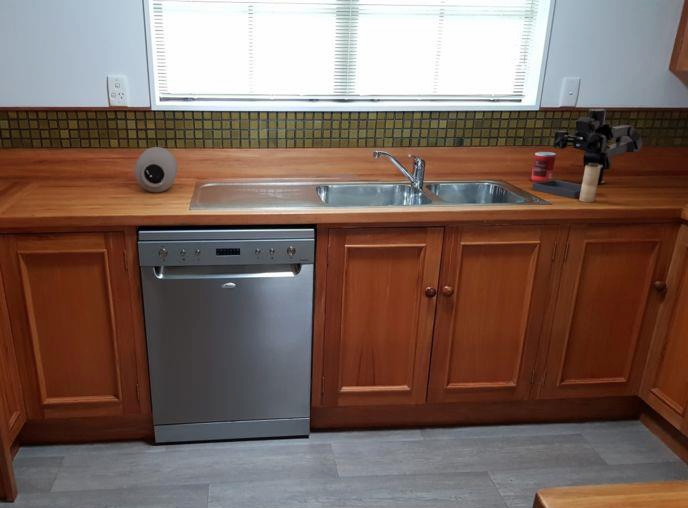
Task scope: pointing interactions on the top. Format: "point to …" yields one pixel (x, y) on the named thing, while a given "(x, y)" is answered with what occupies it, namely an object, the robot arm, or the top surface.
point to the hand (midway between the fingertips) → (566, 145)
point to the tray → (559, 188)
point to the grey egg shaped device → (155, 169)
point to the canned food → (543, 166)
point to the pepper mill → (590, 182)
